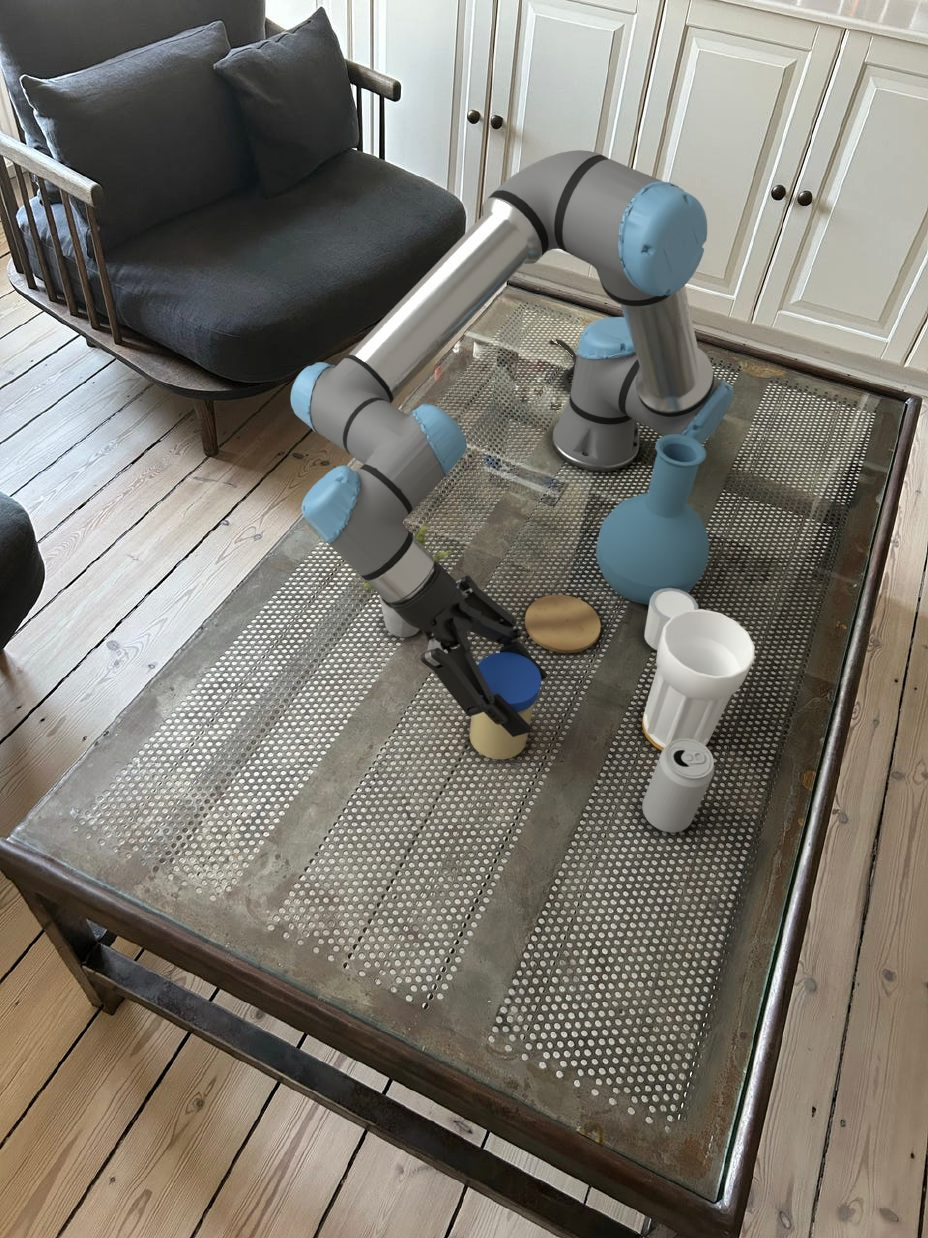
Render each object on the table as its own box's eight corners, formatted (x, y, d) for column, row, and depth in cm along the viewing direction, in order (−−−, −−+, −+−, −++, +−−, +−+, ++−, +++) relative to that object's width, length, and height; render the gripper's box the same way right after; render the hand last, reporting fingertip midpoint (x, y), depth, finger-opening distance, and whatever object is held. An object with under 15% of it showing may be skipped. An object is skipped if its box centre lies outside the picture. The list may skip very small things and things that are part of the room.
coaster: (512, 607, 145) (513, 604, 144) (578, 591, 148) (579, 587, 148) (545, 661, 138) (545, 657, 137) (613, 642, 142) (614, 638, 141)
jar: (460, 721, 130) (466, 669, 122) (512, 706, 132) (521, 654, 124) (483, 766, 125) (490, 715, 117) (536, 750, 128) (547, 699, 120)
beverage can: (636, 792, 124) (656, 735, 115) (685, 790, 125) (709, 734, 116) (646, 836, 120) (668, 781, 111) (697, 835, 121) (723, 779, 112)
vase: (708, 566, 154) (754, 435, 136) (679, 635, 143) (725, 503, 125) (609, 531, 158) (641, 400, 140) (574, 596, 147) (603, 462, 129)
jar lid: (553, 691, 121) (555, 682, 120) (505, 724, 117) (507, 715, 116) (507, 652, 125) (509, 642, 124) (459, 682, 121) (460, 672, 120)
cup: (630, 692, 135) (657, 605, 123) (711, 698, 136) (747, 612, 123) (637, 760, 128) (667, 674, 115) (723, 766, 128) (763, 681, 115)
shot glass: (690, 628, 145) (702, 595, 139) (682, 661, 140) (694, 628, 135) (645, 615, 146) (655, 581, 141) (635, 647, 141) (645, 613, 136)
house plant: (370, 679, 134) (371, 595, 122) (331, 611, 142) (329, 526, 130) (463, 647, 139) (473, 563, 127) (421, 583, 147) (426, 499, 135)
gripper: (417, 536, 122) (527, 653, 132) (358, 656, 108) (486, 778, 118) (461, 513, 118) (572, 637, 127) (405, 636, 104) (534, 765, 113)
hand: (530, 704), depth 123 cm, fingers closed on jar lid, 8 cm apart
